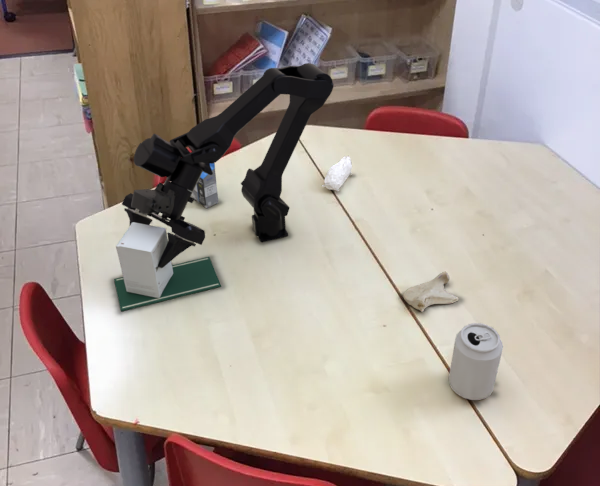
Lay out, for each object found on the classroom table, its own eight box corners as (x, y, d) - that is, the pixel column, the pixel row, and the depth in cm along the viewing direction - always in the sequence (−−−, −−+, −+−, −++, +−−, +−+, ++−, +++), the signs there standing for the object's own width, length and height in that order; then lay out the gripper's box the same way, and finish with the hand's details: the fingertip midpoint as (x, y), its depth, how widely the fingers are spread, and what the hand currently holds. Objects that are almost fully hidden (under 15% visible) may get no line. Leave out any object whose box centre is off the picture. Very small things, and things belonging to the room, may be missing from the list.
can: (443, 370, 117) (451, 320, 110) (485, 367, 117) (496, 317, 110) (454, 405, 111) (463, 354, 103) (499, 401, 111) (511, 351, 104)
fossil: (465, 298, 131) (467, 285, 129) (419, 316, 127) (420, 303, 125) (443, 278, 136) (445, 265, 134) (399, 295, 132) (400, 281, 130)
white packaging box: (159, 299, 132) (150, 252, 124) (125, 292, 134) (113, 245, 125) (174, 273, 138) (166, 227, 129) (141, 266, 139) (131, 220, 131)
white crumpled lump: (331, 176, 171) (318, 187, 162) (339, 151, 168) (326, 162, 159) (349, 183, 170) (337, 195, 161) (357, 158, 167) (345, 169, 158)
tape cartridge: (185, 193, 163) (179, 149, 156) (199, 187, 166) (193, 143, 158) (206, 209, 158) (200, 163, 151) (219, 202, 160) (215, 157, 153)
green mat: (209, 257, 143) (209, 256, 143) (221, 286, 135) (221, 285, 135) (114, 280, 138) (113, 278, 137) (121, 311, 130) (120, 310, 130)
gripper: (120, 157, 129) (84, 230, 129) (186, 190, 119) (147, 269, 119) (158, 175, 139) (125, 243, 139) (222, 206, 129) (186, 280, 129)
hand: (144, 258), depth 131 cm, fingers open, 9 cm apart
